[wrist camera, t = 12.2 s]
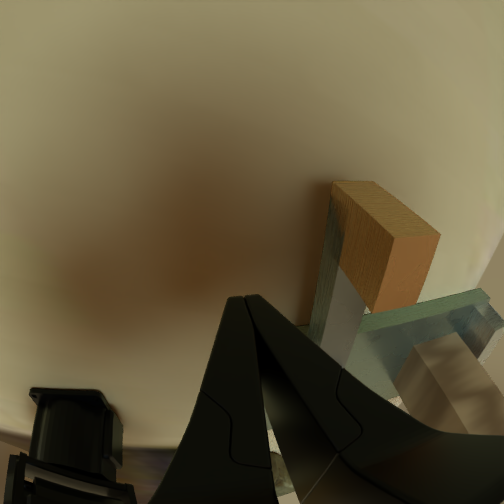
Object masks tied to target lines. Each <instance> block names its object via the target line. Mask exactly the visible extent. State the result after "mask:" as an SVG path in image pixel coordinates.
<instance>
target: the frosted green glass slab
mask: <svg viewBox="0 0 504 504" xmlns="http://www.w3.org/2000/svg"><path fill="white" fill-rule="evenodd" d="M489 300H490V297H489V296H488V295H487V294H486V293H485V292H484V291H483V290H482V289H481V288H478V289H475V290H471V291H467V292H463V293H459V294H456V295H452V296H448V297H444V298H440V299H435V300H431V301H427V302H423V303H418V304H416V305H411V306H407V307H402V308H398V309H393V310H388V311H383V312H378V313H373V314H372V313H371V314H366V315H363V317H362V320H361V323H360V326H359V329H358V332H357V335H356V338H355V341H354V344H353V346H352V349H351V352H350V355H349V358H348V360H347V363H346V366H345V369H346V370H347V371H348V372H350V373H351V374H352V375H353V376H354V377H356V378H357V379H358V380H359V381H361V382H362V383H363V384H365V385H366V386H367V387H368V388H370V389H371V390H373V391H374V392H375V393H377V394H378V395H380V396H381V397H383V398H384V399H386V400H388V399H391V398H394V397H397V396H399V394H398V392H397V390H396V388H395V387H394V385H393V382H394V380H395V379H396V377H397V375H398V373H399V372H400V370H401V368H402V366H403V364H404V363H405V361H406V359H407V357H408V355H409V353H410V351H411V349H412V347H413V346H414V345H417V344H421V343H424V342H427V341H430V340H433V339H436V338H439V337H442V336H445V335H448V334H451V333H454V332H457V333H458V335H459V336H460V337H461V339H462V340H463V341H464V342H465V344H466V345H467V346H468V348H469V349H470V350H471V352H472V353H473V354H474V356H475V357H476V358H477V360H478V361H479V362H480V364H481V365H483V364H484V362H485V361H486V359H487V358H488V356H489V355H490V353H491V352H492V350H493V349H494V347H495V346H496V344H497V343H498V341H499V339H500V338H501V336H502V335H503V333H504V320H503V319H502V318H501V316H500V315H499V314H498V313H497V312H496V311H495V310H494V309H493V307H492V306H491V305H490V304H489V303H488V302H489ZM297 328H298V329H299V330H300V331H302V332H303V333H304V334H305V335H306V336H307V335H308V330H309V325H303V326H297ZM264 409H265V407H264ZM265 417H266V424H267V430H270V429H272V427H271V424H270V421H269V418H268V416H267V413H266V410H265Z"/></svg>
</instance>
